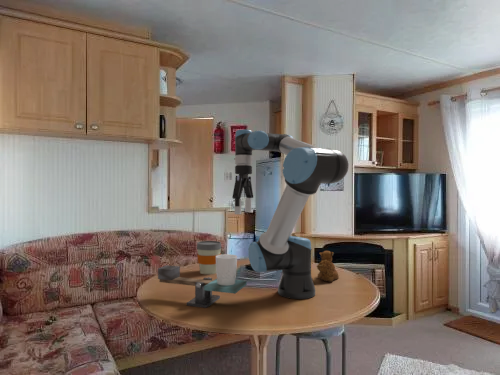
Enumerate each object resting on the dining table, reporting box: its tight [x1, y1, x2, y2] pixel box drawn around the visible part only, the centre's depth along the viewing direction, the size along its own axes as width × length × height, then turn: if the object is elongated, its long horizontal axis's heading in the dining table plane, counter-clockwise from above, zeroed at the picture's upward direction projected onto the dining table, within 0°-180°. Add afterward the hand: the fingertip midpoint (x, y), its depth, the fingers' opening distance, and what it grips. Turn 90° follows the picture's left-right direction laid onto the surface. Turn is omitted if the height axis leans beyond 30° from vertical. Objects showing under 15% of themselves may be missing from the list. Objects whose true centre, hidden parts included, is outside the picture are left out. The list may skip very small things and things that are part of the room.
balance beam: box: [157, 264, 248, 294], centre depth 135 cm, size 33×12×6 cm, turn 71°
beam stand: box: [186, 276, 221, 309], centre depth 134 cm, size 8×12×8 cm, turn 161°
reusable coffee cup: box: [196, 240, 222, 275], centre depth 181 cm, size 13×13×15 cm
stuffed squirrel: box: [316, 250, 340, 282], centre depth 168 cm, size 10×14×13 cm
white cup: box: [215, 253, 238, 286], centre depth 132 cm, size 8×8×10 cm
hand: (243, 213), depth 158 cm, fingers open, 13 cm apart
